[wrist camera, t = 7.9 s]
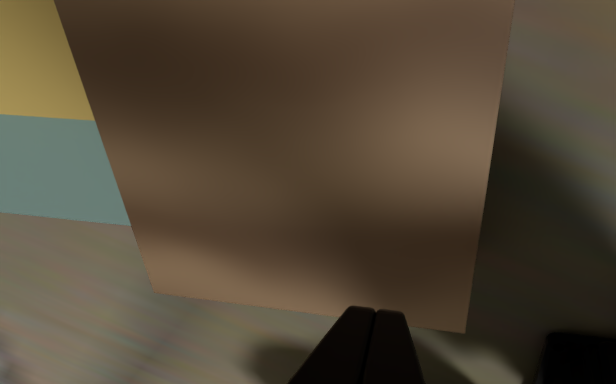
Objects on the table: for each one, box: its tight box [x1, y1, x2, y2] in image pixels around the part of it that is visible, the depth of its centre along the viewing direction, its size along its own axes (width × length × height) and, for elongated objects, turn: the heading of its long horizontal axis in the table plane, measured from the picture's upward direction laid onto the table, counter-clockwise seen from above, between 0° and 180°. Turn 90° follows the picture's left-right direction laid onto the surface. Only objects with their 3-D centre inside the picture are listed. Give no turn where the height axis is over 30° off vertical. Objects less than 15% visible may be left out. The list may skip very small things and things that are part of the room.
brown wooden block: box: [54, 0, 515, 334], centre depth 17 cm, size 20×12×4 cm, turn 4°
